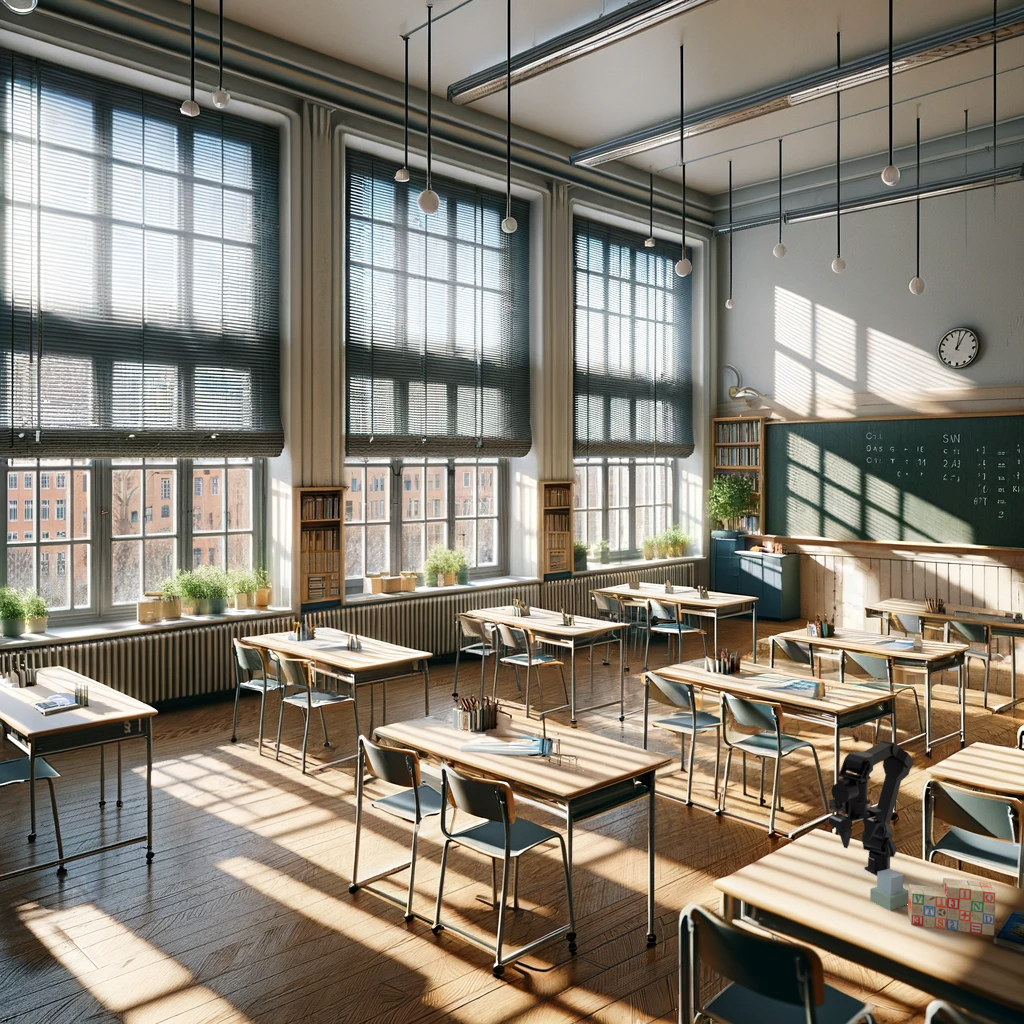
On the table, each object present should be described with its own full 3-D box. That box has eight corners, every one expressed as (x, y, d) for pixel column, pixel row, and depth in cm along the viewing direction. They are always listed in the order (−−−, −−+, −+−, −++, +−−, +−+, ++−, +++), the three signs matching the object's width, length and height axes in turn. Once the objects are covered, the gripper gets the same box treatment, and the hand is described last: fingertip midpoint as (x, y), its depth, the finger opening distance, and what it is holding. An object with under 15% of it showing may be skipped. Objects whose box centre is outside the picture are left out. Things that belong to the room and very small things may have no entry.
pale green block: (890, 895, 280) (891, 882, 280) (910, 905, 274) (911, 891, 274) (870, 902, 276) (870, 888, 276) (889, 911, 270) (890, 898, 269)
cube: (889, 885, 278) (889, 868, 278) (902, 891, 274) (903, 875, 274) (877, 888, 276) (877, 871, 276) (890, 895, 271) (891, 878, 271)
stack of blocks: (910, 925, 261) (911, 882, 260) (907, 915, 267) (908, 873, 267) (994, 936, 255) (995, 892, 255) (989, 925, 261) (990, 882, 261)
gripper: (858, 783, 298) (856, 831, 299) (815, 792, 289) (814, 841, 290) (886, 793, 288) (885, 843, 289) (843, 803, 279) (842, 854, 280)
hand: (856, 845), depth 287 cm, fingers open, 9 cm apart
